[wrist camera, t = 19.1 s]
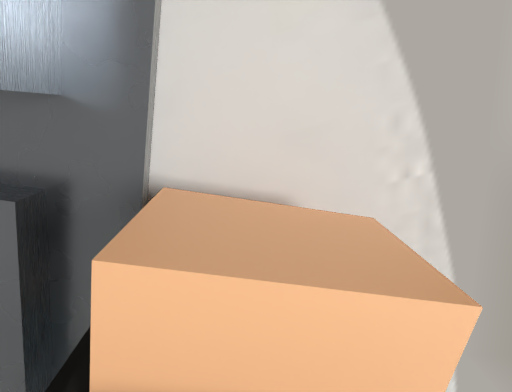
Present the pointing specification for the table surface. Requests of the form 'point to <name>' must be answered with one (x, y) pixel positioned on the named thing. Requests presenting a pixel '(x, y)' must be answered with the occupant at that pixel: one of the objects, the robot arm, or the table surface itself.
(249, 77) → the table surface
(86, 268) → the latch base
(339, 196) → the table surface
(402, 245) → the cover
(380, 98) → the table surface
